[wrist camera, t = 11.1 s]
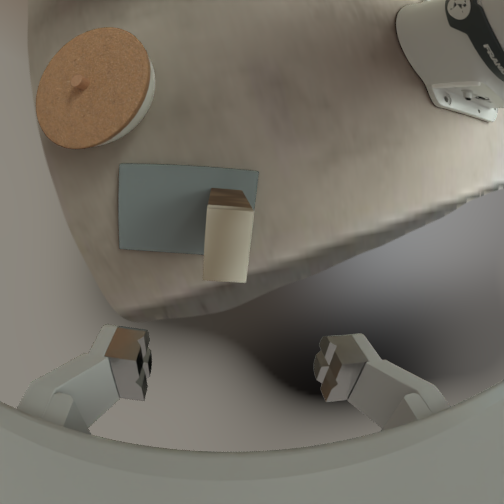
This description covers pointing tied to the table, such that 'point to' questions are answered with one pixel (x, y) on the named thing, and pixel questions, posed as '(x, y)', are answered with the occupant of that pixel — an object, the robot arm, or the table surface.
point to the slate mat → (172, 204)
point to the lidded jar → (95, 89)
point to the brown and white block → (227, 236)
